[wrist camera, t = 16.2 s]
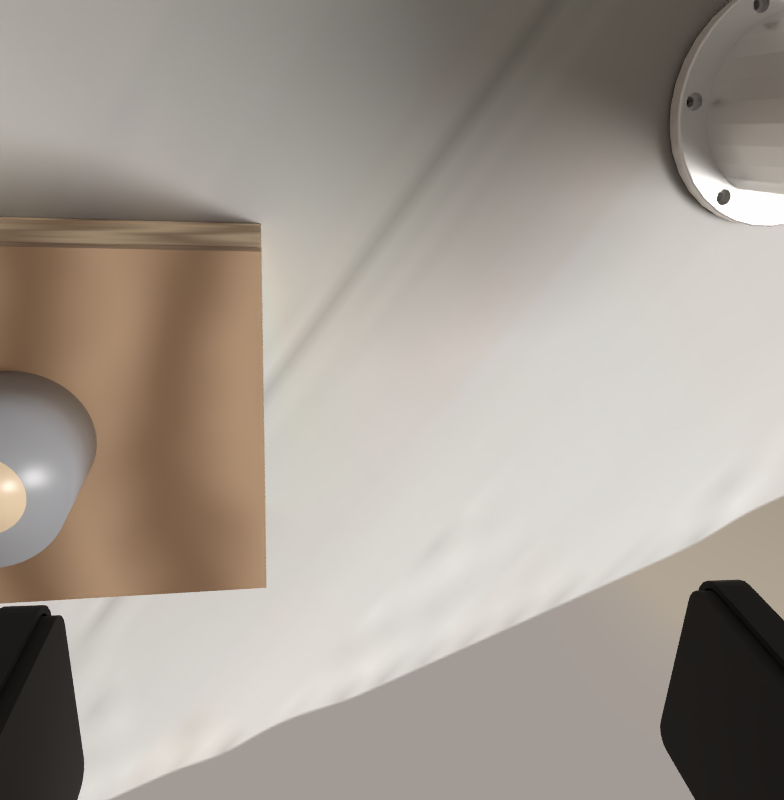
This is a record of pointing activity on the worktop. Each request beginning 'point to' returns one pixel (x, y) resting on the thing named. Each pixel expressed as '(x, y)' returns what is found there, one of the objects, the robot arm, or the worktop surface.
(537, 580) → the worktop surface
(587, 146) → the worktop surface
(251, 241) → the storage box
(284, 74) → the worktop surface
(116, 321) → the lid
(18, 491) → the grey knob post
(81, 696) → the worktop surface
